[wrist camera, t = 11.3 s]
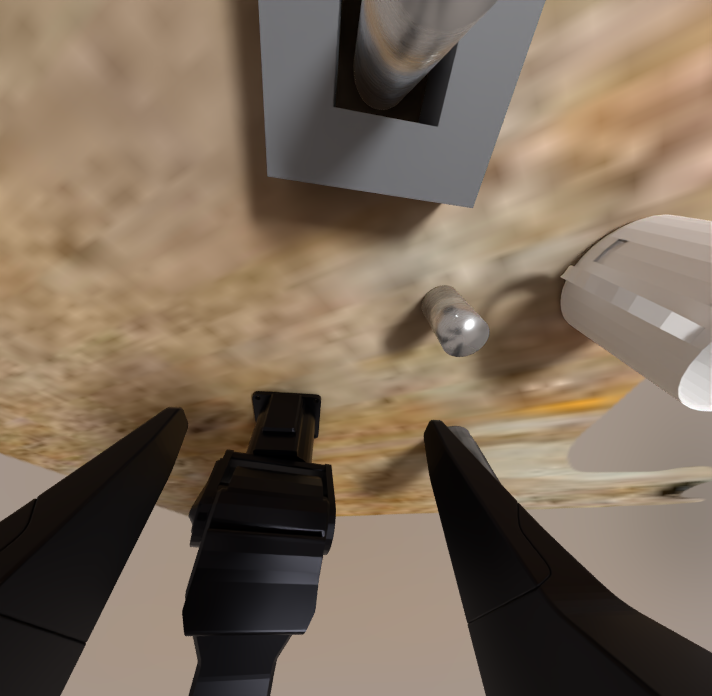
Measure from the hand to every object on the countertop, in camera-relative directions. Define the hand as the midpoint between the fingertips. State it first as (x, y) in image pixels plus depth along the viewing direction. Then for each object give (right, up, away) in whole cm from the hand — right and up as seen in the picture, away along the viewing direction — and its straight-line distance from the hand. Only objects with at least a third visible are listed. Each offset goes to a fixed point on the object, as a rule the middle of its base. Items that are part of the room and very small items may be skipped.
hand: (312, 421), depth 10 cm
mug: (+21, +9, +10) cm, 25 cm away
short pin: (+8, +6, +11) cm, 15 cm away
